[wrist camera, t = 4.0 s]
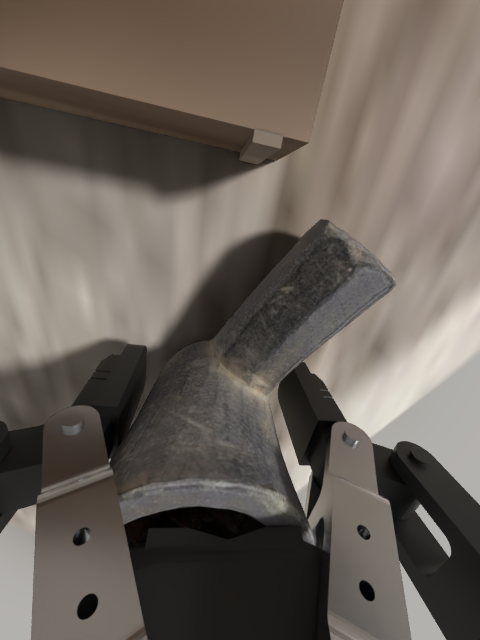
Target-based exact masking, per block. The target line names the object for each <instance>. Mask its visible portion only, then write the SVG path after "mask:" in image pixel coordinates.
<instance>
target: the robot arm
mask: <svg viewBox="0 0 480 640" xmlns="http://www.w3.org/2000/svg"><path fill="white" fill-rule="evenodd" d="M146 355H147V348H146V346H143V345H133V344H127V345H126V347H125V349H124V350H123V352H122V354H121V355H110V356H109V357H107V358H106V359H104V360H103V361H101V363H100V364H99V366H98V367H97V369H96V372H94V373H93V375H92V376H91V379H89V381H88V382H87V384H86V385H85V387H84V388H83V390H82V391H81V393H80V394H79V396H78V397H77V399H76V400H75V402H74V403H73V405H72V406H71V407H68V408H65V409H63V410H61V411H59V412H57V413H56V414H54V415H53V416H52V417H50V418H49V420H48V421H47V422H46V424H44V425H41V426H36V427H31V428H25V429H20V430H14V431H9V432H8V428H7V426H6V424H5V423H4V422H2V421H0V533H1V532H2V530H3V529H4V527H5V526H6V525H7V524H8V522H9V521H10V519H11V518H12V517H13V515H14V514H15V513H16V511H17V510H18V509H21V508H25V507H28V506H31V505H35V504H37V508H36V531H35V556H34V579H33V603H32V627H31V628H32V629H31V640H411V633H410V627H409V621H408V614H407V608H406V601H405V595H404V588H403V582H402V576H401V569H400V563H399V561H400V562H401V564H402V566H403V567H404V569H405V571H406V572H407V574H408V576H409V577H410V579H411V581H412V582H413V584H414V586H415V587H416V589H417V591H418V592H419V594H420V596H421V598H422V599H423V601H424V602H425V604H426V606H427V608H428V609H429V611H430V612H431V614H432V616H433V618H434V619H435V621H436V623H437V625H438V626H439V628H440V630H441V631H442V633H443V635H444V636H445V638H446V639H447V640H480V505H479V504H478V503H477V502H476V501H475V500H474V499H473V498H472V497H471V496H470V494H468V492H466V490H465V489H464V488H463V487H462V486H461V485H460V484H459V483H458V482H457V481H456V480H455V479H454V478H453V477H452V476H451V475H450V474H449V472H448V471H447V470H446V469H444V467H443V466H442V465H441V464H440V463H439V462H438V461H437V460H436V459H435V458H434V457H433V456H432V455H431V454H430V453H429V452H428V451H426V450H425V449H423V448H422V447H420V446H418V445H416V444H414V443H411V442H407V441H402V442H399V443H397V445H396V447H395V448H394V450H392V449H389V448H386V447H383V446H379V445H376V444H373V443H372V442H371V440H370V438H369V437H368V435H367V434H366V433H365V432H364V431H363V430H361V429H360V428H359V427H357V426H355V425H353V424H351V423H348V422H347V421H346V419H345V418H344V416H343V414H342V413H341V411H340V409H339V408H338V406H337V404H336V403H335V401H334V399H332V396H331V394H330V392H329V391H328V389H327V387H326V386H325V384H324V382H323V381H322V380H321V379H320V378H319V377H317V376H316V375H315V374H311V373H310V371H309V369H308V367H307V365H306V364H305V363H304V362H301V363H300V364H299V365H298V366H297V367H296V368H294V369H293V370H292V371H291V372H290V373H289V374H288V375H286V377H285V378H284V379H283V380H282V381H281V382H280V384H279V388H278V400H279V403H280V406H281V409H282V412H283V416H284V419H285V422H286V425H287V428H288V431H289V434H290V437H291V440H292V443H293V447H294V450H295V453H296V456H297V459H298V462H299V465H310V466H311V469H312V472H311V475H310V477H309V483H308V490H307V497H306V504H305V511H304V513H305V515H306V518H307V520H308V522H309V525H310V527H311V530H312V532H313V535H314V542H315V545H313V544H310V543H308V542H306V541H303V537H302V533H301V530H300V527H264V528H261V529H258V530H255V531H252V532H250V533H247V534H244V535H241V536H238V537H235V538H232V539H224V538H221V537H217V536H214V535H211V534H207V533H204V532H201V531H197V530H194V529H191V528H149V529H148V534H147V539H146V542H144V543H141V544H138V545H136V546H134V547H132V548H130V549H129V548H128V543H127V538H126V533H125V528H124V523H123V518H122V513H121V508H120V503H119V498H118V493H117V488H116V483H115V478H114V474H113V470H112V468H110V466H109V461H108V460H109V458H111V459H112V457H113V456H114V454H115V452H116V451H117V449H118V447H119V446H120V444H121V442H122V441H123V439H124V437H125V436H126V434H127V433H128V431H129V428H130V425H131V423H132V420H133V417H134V414H135V411H136V409H137V406H138V403H139V400H140V397H141V395H142V392H143V389H144V384H145V378H146ZM420 504H421V505H422V506H423V507H424V509H425V510H426V511H427V513H428V514H429V515H430V516H431V518H432V519H433V520H434V522H435V523H436V524H437V526H438V527H439V528H440V529H441V531H442V532H443V533H444V535H445V536H446V538H447V539H448V541H449V543H450V546H451V556H450V558H449V557H448V555H447V554H446V553H445V551H444V550H443V548H442V547H441V546H440V544H439V543H438V542H437V540H436V539H435V538H434V536H433V535H432V533H431V532H430V531H429V530H428V528H427V527H426V525H425V524H424V523H423V521H422V520H421V519H420V517H419V516H418V515H417V513H416V512H415V510H416V509H417V508H418V506H419V505H420Z"/></svg>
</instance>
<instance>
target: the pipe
mask: <svg viewBox="0 0 480 640" xmlns="http://www.w3.org/2000/svg"><path fill="white" fill-rule="evenodd" d="M395 286H396V281H395V278H394V276H393V274H392V273H391V272H390V271H389V270H388V269H387V268H386V267H385V266H384V265H383V264H382V263H381V262H380V261H379V260H378V259H377V258H376V257H375V256H374V255H373V254H372V253H371V252H370V251H369V250H368V249H367V248H365V247H364V246H363V245H362V244H361V243H359V242H358V241H357V240H356V239H354V238H353V237H352V236H350V235H349V234H347V233H346V232H345V231H343V230H341V229H340V228H338V227H336V226H335V225H334V224H333V223H332V222H330V221H329V220H320V221H318V222H317V223H316V224H315V225H314V226H313V227H312V228H311V229H310V230H308V231H307V232H306V233H305V235H304V236H303V237H302V238H301V239H300V240H299V241H298V242H297V243H296V244H295V245H294V247H293V248H292V249H291V250H290V251H289V252H288V253H287V254H286V255H285V256H284V257H283V259H282V260H281V261H280V262H279V263H278V264H277V265H276V266H275V267H274V268H273V269H272V270H271V272H270V273H269V274H268V275H267V276H266V277H265V278H264V279H263V281H262V282H261V283H260V284H259V285H258V286H257V288H256V289H255V290H254V291H253V292H252V293H251V294H250V295H249V297H248V298H247V299H246V300H245V301H244V302H243V303H242V304H241V305H240V307H239V308H238V309H237V310H236V312H235V313H234V314H233V316H232V317H231V318H230V319H229V320H228V321H227V322H226V323H225V325H224V326H223V327H222V329H221V330H220V331H219V332H218V334H217V335H216V336H215V337H214V338H213V339H212V340H210V341H200V342H196V343H193V344H190V345H188V346H186V347H184V348H183V349H181V350H180V351H178V352H177V353H176V354H175V355H174V356H173V357H172V358H171V359H170V360H169V361H168V362H167V364H166V365H165V367H164V369H163V370H162V372H161V374H160V375H159V377H158V379H157V381H156V383H155V385H154V386H153V388H152V390H151V392H150V394H149V395H148V397H147V399H146V401H145V403H144V405H143V407H142V409H141V411H140V413H139V415H138V416H137V418H136V420H135V421H134V423H133V424H132V426H131V428H130V429H129V431H128V433H127V434H126V436H125V437H124V439H123V441H122V442H121V444H120V446H119V447H118V449H117V451H116V452H115V454H114V456H113V457H112V459H111V461H110V463H109V466H110V468H112V470H113V474H114V478H115V483H116V488H117V493H118V498H119V503H120V508H121V513H122V518H123V523H124V528H125V533H126V538H127V543H128V548H129V549H130V548H132V547H134V546H136V545H138V544H141V543H144V542H146V539H147V534H148V529H149V528H191V529H194V530H197V531H201V532H204V533H207V534H211V535H214V536H217V537H221V538H224V539H232V538H235V537H238V536H241V535H244V534H247V533H250V532H252V531H255V530H258V529H261V528H264V527H300V530H301V533H302V537H303V541H306V542H308V543H310V544H313V545H315V542H314V535H313V532H312V530H311V527H310V525H309V522H308V520H307V518H306V515H305V513H304V510H303V508H302V506H301V503H300V501H299V499H298V496H297V494H296V491H295V489H294V486H293V483H292V481H291V478H290V476H289V473H288V470H287V467H286V464H285V462H284V459H283V456H282V453H281V450H280V446H279V442H278V438H277V434H276V430H275V426H274V422H273V417H272V413H271V408H270V403H269V393H270V392H271V391H272V390H273V389H274V388H275V387H276V386H277V385H278V384H279V383H280V382H281V381H282V380H283V379H284V378H285V377H286V375H288V374H289V373H290V372H291V371H292V370H293V369H294V368H296V367H297V366H298V365H299V364H300V363H301V362H302V361H304V360H305V359H306V358H307V357H308V356H310V355H311V354H312V353H313V352H314V351H315V350H317V349H318V348H319V347H320V346H322V345H323V344H324V343H325V342H327V341H328V340H329V339H330V338H332V337H333V336H334V335H335V334H337V333H338V332H339V331H340V330H342V329H343V328H344V327H346V326H347V325H348V324H349V323H351V322H352V321H353V320H354V319H355V318H357V317H358V316H359V315H360V314H362V313H363V312H364V311H366V310H367V309H368V308H369V307H371V306H372V305H373V304H374V303H376V302H377V301H378V300H380V299H381V298H382V297H384V296H385V295H386V294H388V293H389V292H390V291H391V290H392V289H393V288H394V287H395Z"/></svg>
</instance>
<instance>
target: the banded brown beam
mask: <svg viewBox="0 0 480 640" xmlns="http://www.w3.org/2000/svg"><path fill="white" fill-rule="evenodd" d="M343 1H344V0H0V97H1V98H6V99H10V100H14V101H19V102H23V103H27V104H32V105H36V106H40V107H45V108H49V109H54V110H58V111H62V112H67V113H71V114H75V115H80V116H84V117H88V118H93V119H97V120H102V121H106V122H110V123H115V124H119V125H123V126H128V127H132V128H136V129H141V130H145V131H149V132H154V133H158V134H163V135H167V136H171V137H176V138H180V139H184V140H189V141H193V142H197V143H202V144H206V145H210V146H215V147H219V148H224V149H228V150H232V151H237V152H240V157H239V161H244V162H248V163H253V164H257V165H258V164H260V163H261V162H262V161H264V160H265V159H271V160H276V161H277V160H279V159H281V158H282V157H284V156H286V155H288V154H290V153H291V152H293V151H295V150H297V149H299V148H300V147H302V146H304V145H306V144H308V143H309V140H310V136H311V132H312V128H313V124H314V120H315V116H316V112H317V108H318V104H319V99H320V95H321V91H322V87H323V83H324V79H325V75H326V71H327V67H328V63H329V58H330V54H331V50H332V46H333V42H334V38H335V34H336V30H337V26H338V22H339V18H340V13H341V9H342V5H343Z"/></svg>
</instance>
